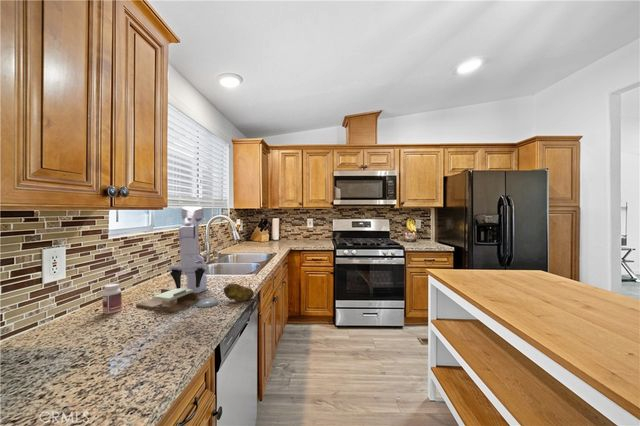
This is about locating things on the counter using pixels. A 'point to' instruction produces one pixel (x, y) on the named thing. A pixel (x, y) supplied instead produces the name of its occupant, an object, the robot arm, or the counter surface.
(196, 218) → the robot arm
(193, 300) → the board
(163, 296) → the cover
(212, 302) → the saucer
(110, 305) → the pill bottle
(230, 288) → the potato
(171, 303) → the block
